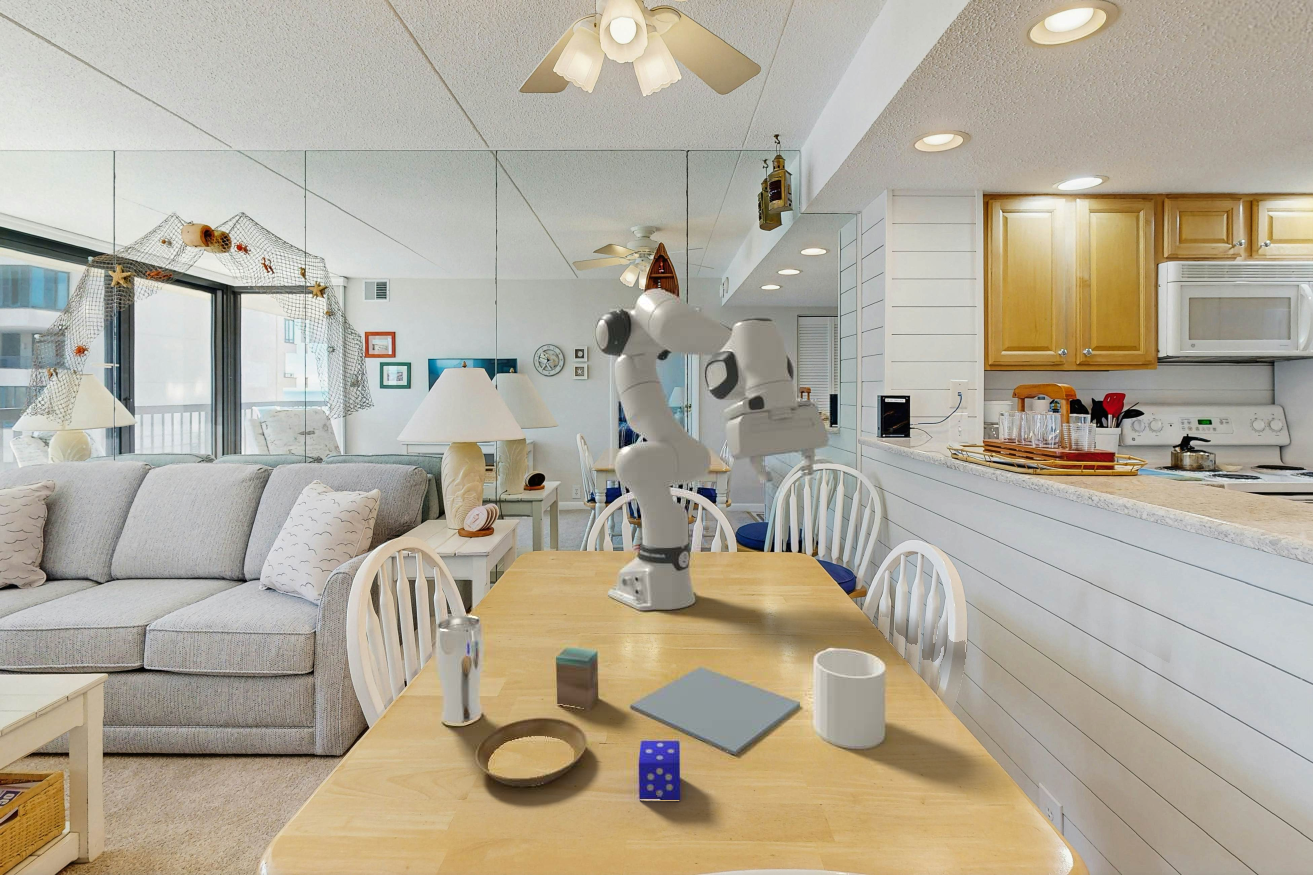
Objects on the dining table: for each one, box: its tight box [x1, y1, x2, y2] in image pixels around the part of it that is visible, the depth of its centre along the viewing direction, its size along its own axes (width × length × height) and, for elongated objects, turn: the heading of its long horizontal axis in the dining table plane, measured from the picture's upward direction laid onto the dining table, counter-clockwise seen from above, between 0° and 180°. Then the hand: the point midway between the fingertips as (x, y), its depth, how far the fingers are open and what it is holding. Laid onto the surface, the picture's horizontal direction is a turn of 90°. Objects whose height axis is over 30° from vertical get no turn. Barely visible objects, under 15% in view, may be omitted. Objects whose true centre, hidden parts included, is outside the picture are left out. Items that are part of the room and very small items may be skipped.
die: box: [638, 740, 681, 801], centre depth 77 cm, size 5×5×5 cm
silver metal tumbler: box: [435, 615, 484, 723], centre depth 95 cm, size 7×7×15 cm
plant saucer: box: [475, 717, 588, 787], centre depth 83 cm, size 15×15×3 cm
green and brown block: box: [555, 646, 599, 710], centre depth 100 cm, size 4×6×8 cm
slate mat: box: [629, 666, 801, 756], centre depth 98 cm, size 20×18×1 cm
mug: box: [813, 647, 887, 750], centre depth 91 cm, size 13×10×10 cm
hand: (787, 478), depth 109 cm, fingers open, 8 cm apart
